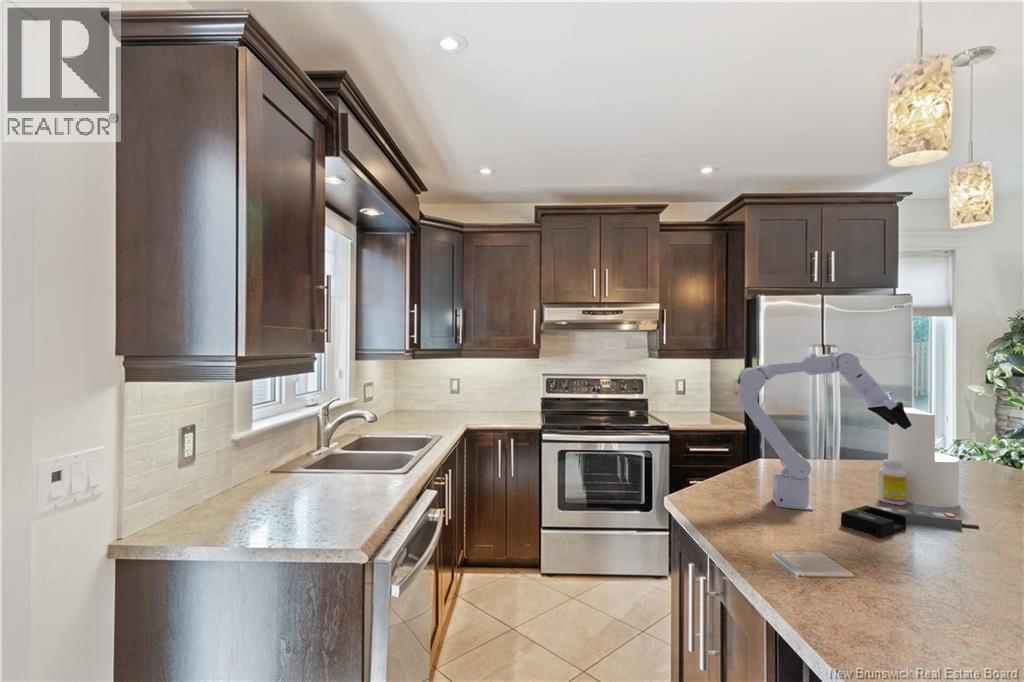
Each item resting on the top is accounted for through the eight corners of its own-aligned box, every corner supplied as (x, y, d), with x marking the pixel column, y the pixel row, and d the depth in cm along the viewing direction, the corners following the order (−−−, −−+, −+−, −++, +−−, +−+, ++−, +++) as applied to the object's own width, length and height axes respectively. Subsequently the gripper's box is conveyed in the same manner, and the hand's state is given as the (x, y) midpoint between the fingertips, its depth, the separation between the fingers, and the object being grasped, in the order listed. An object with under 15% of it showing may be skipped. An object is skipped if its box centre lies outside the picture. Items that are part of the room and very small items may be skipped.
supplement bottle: (911, 506, 144) (911, 464, 144) (886, 504, 145) (886, 463, 145) (897, 499, 151) (898, 459, 151) (874, 497, 152) (874, 457, 152)
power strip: (873, 519, 133) (873, 509, 133) (865, 513, 138) (866, 503, 138) (985, 531, 125) (985, 520, 125) (973, 525, 130) (973, 514, 130)
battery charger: (881, 540, 120) (881, 524, 120) (840, 527, 128) (840, 512, 128) (906, 531, 126) (906, 516, 126) (865, 519, 134) (866, 505, 134)
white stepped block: (899, 502, 147) (900, 413, 147) (880, 487, 163) (880, 406, 163) (970, 510, 141) (971, 417, 141) (943, 493, 157) (944, 409, 157)
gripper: (890, 380, 130) (928, 420, 128) (869, 377, 144) (902, 413, 141) (866, 395, 132) (903, 435, 129) (848, 390, 146) (880, 427, 143)
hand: (901, 425), depth 135 cm, fingers open, 7 cm apart
